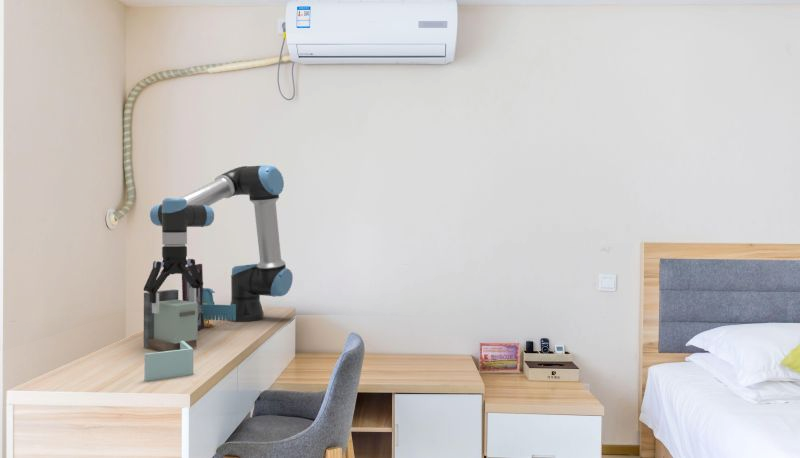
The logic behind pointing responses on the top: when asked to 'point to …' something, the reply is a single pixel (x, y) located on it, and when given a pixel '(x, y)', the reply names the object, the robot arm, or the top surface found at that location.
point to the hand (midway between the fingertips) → (174, 310)
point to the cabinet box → (176, 321)
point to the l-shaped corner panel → (169, 363)
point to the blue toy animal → (215, 309)
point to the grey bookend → (149, 324)
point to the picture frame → (198, 299)
